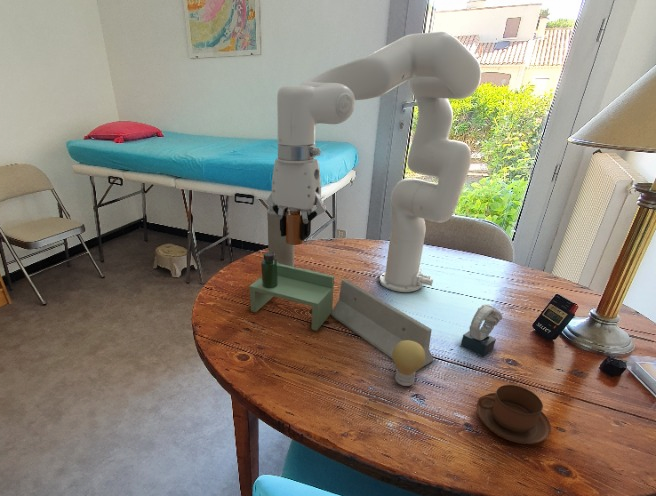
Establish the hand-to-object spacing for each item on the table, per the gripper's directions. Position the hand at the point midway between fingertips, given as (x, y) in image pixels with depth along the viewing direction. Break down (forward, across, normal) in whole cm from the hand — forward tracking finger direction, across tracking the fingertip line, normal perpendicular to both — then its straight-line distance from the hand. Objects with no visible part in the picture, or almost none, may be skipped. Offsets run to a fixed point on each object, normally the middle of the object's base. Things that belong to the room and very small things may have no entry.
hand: (295, 235), depth 91 cm
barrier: (+26, -20, -7) cm, 33 cm away
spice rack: (+26, +4, -7) cm, 27 cm away
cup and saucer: (+26, -50, +8) cm, 56 cm away
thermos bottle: (+26, +17, -24) cm, 39 cm away
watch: (+26, -41, -14) cm, 51 cm away
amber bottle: (+1, 0, 0) cm, 1 cm away
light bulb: (+26, -30, +6) cm, 40 cm away
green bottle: (+18, +10, -5) cm, 21 cm away
